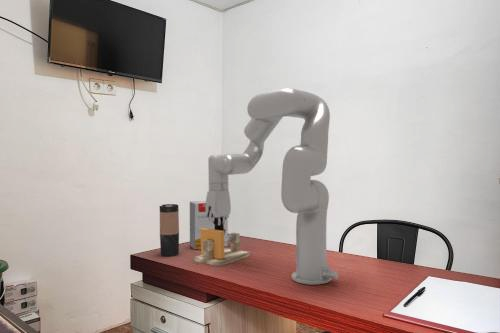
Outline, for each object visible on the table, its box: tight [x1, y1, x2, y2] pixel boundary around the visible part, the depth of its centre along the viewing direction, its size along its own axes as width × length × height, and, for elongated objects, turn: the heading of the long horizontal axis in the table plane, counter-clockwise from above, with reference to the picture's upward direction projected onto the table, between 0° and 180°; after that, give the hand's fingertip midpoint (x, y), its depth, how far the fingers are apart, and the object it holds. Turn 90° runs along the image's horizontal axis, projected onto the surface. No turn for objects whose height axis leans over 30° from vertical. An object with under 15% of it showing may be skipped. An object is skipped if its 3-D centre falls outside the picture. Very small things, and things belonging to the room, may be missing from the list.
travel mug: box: [159, 203, 180, 257], centre depth 157 cm, size 8×8×20 cm
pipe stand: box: [193, 232, 251, 267], centre depth 150 cm, size 13×18×8 cm
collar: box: [200, 228, 225, 259], centre depth 145 cm, size 10×2×10 cm, turn 53°
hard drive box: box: [189, 200, 229, 250], centre depth 170 cm, size 16×8×20 cm, turn 113°
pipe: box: [213, 234, 236, 246], centre depth 150 cm, size 3×17×3 cm, turn 144°
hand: (219, 235), depth 149 cm, fingers closed
